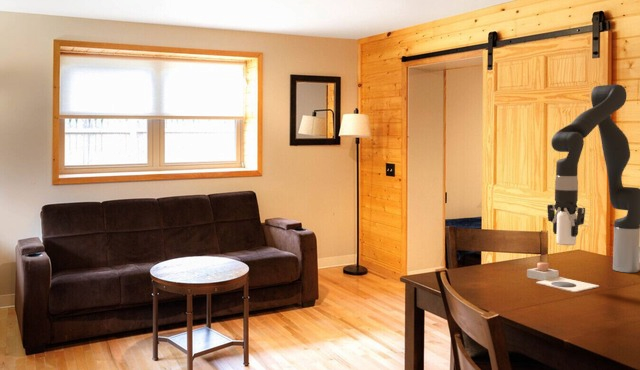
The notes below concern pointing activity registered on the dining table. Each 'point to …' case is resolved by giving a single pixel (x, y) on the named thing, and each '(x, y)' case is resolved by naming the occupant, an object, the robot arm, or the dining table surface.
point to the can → (564, 229)
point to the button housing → (542, 274)
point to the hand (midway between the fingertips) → (565, 235)
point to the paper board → (567, 284)
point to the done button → (542, 267)
